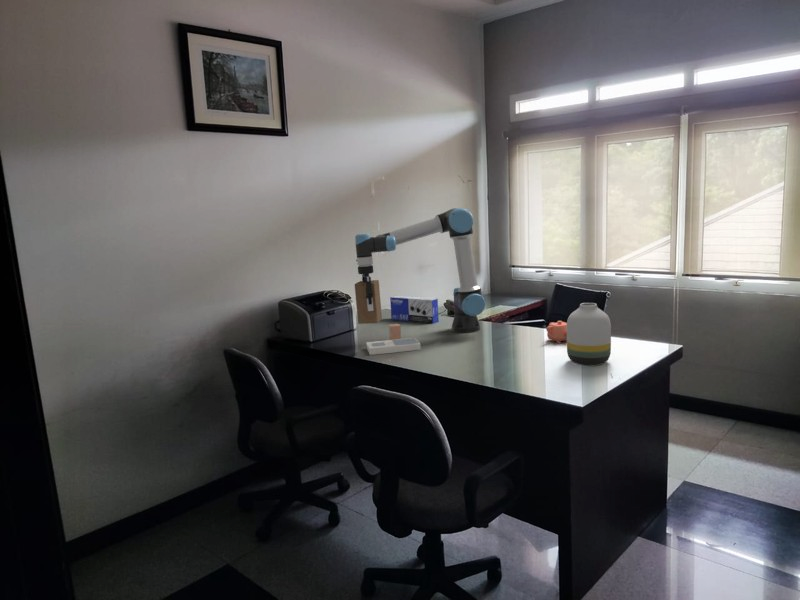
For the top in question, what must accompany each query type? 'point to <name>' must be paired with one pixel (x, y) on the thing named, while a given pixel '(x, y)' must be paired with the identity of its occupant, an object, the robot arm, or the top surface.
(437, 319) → the ink box
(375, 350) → the foundation board
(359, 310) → the wooden block
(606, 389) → the top surface
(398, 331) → the terracotta block
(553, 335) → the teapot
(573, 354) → the vase
